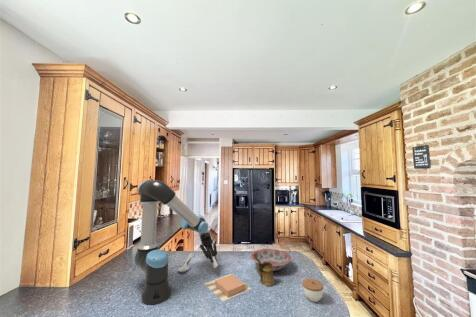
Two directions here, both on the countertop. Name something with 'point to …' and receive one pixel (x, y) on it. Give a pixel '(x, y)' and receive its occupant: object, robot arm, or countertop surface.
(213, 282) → the cream cloth
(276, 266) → the ceramic bowl
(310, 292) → the lidded jar
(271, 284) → the wooden mug
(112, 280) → the countertop surface
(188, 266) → the spoon
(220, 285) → the ceramic tile
